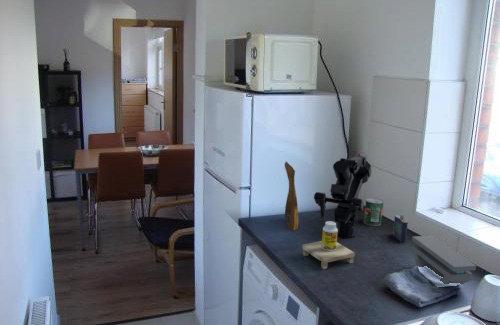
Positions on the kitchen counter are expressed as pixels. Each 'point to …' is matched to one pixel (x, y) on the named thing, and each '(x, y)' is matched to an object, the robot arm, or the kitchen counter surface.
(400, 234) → the flask
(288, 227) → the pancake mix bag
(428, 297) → the kitchen counter surface
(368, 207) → the canned tomato
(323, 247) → the supplement bottle
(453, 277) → the sharpening stone
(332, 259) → the beige wooden stand
